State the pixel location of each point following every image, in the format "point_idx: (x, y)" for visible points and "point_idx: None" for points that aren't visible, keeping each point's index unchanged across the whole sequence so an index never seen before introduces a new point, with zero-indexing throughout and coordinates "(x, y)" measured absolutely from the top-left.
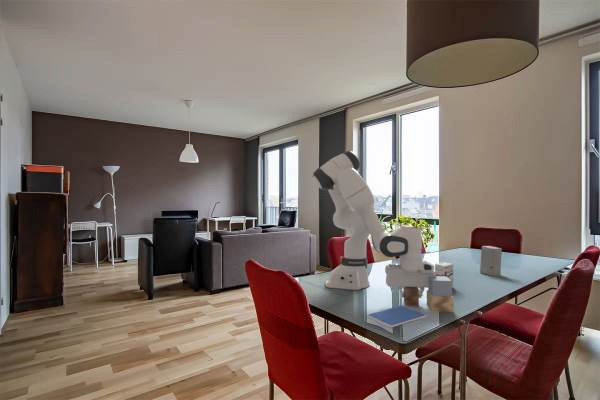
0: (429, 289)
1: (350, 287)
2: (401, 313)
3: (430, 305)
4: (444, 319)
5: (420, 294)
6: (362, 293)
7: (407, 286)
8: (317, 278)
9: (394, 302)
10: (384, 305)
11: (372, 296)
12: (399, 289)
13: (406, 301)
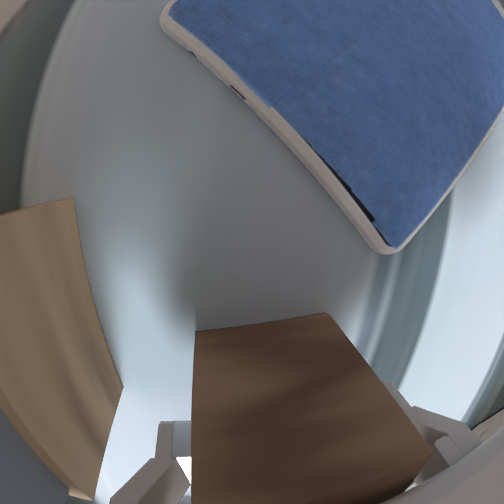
0: (27, 481)
1: (492, 423)
2: (403, 33)
3: (62, 266)
4: (34, 20)
5: (168, 452)
6: (476, 407)
7: (406, 499)
8: None
9: (399, 354)
10: (475, 259)
11: (463, 394)
12: (460, 423)
13: (341, 334)
